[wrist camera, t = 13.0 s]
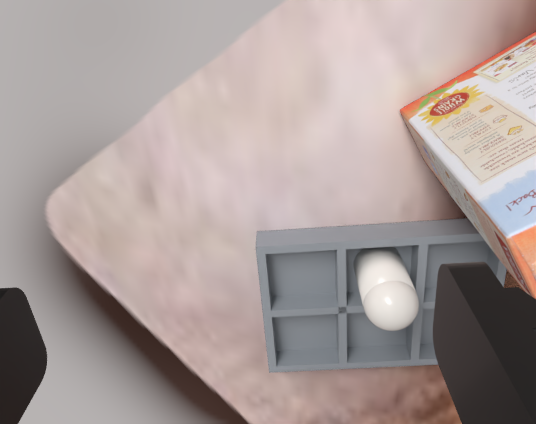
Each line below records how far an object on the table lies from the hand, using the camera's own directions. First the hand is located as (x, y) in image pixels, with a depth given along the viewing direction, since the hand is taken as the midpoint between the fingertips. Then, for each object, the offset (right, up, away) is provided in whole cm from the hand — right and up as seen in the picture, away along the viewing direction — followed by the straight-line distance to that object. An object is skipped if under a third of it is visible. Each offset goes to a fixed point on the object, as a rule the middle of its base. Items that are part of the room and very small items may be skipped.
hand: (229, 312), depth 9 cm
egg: (+11, -3, +37) cm, 39 cm away
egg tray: (+11, -6, +39) cm, 41 cm away
